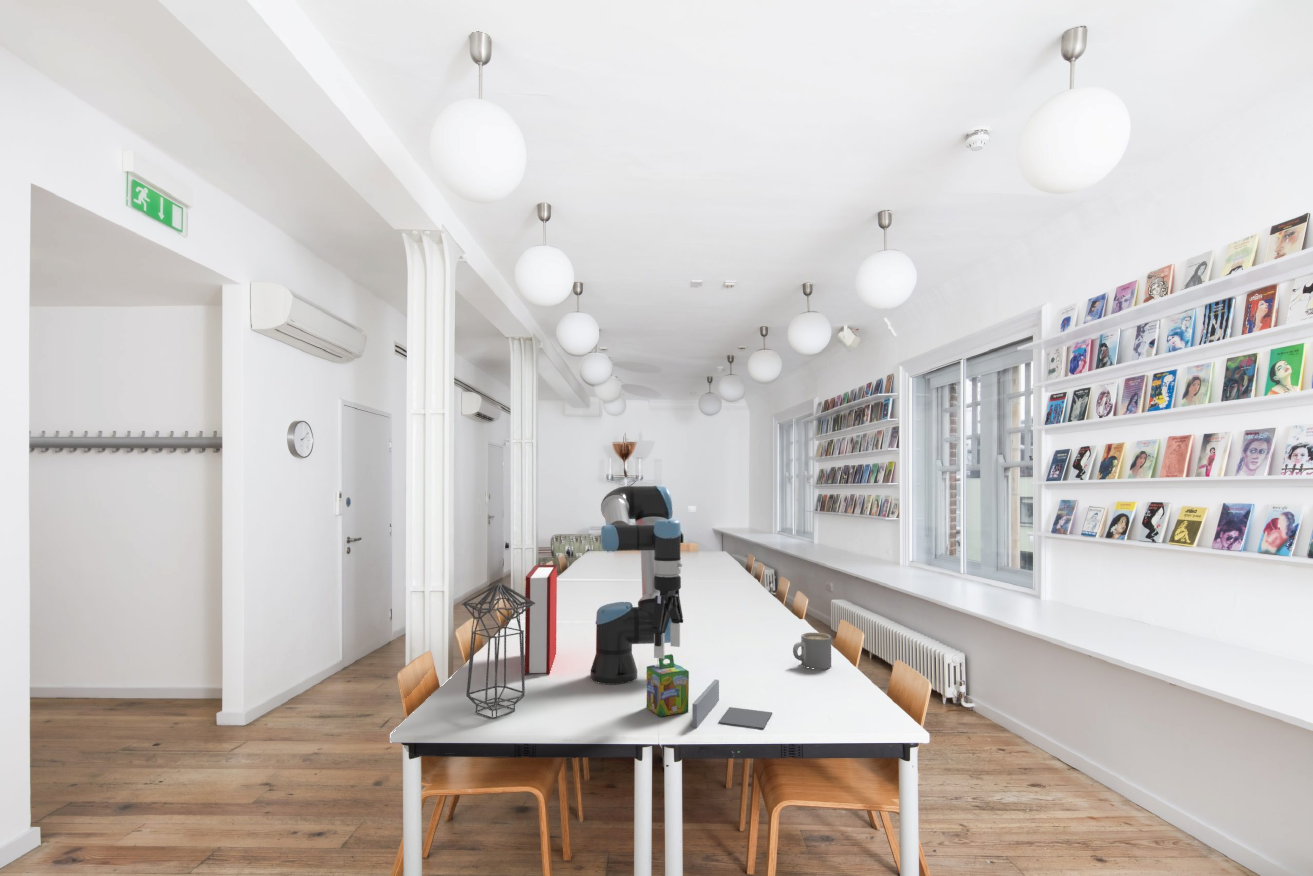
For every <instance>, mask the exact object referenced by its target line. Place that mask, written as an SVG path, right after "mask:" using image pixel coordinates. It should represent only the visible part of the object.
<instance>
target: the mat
mask: <svg viewBox="0 0 1313 876" xmlns="http://www.w3.org/2000/svg"><path fill="white" fill-rule="evenodd" d="M772 715H773V712H770V711H764V710H757V709H756V710H755V709H748V708H741V707H732V706H729V707H728V708H727V710H726V711H725V713H724V714H723V715H722V716H721V718H720V719H719V720H718V723H717V724H719V723H720V725H726V724H727V725H728V726H735V727H741V728H742V727H744V728H749V729H750V728H751V729H756V728H757V729H758V730H764V729H765V728H766V726H767V724H768V723H767V722H769V720H770V719H771V717H772Z"/></svg>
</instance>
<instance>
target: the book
mask: <svg viewBox="0 0 1313 876" xmlns="http://www.w3.org/2000/svg"><path fill="white" fill-rule="evenodd" d="M557 578H558V565H556V564H536V565H534V566H533V567H532V569H531V570H530V571H529V572H528V574H526V575H525V597H526V598H528V599H529V600H531V601H533V602H535V605H534V604H533V605H532V606H531V607H529V608H528V609H527V610H526V611H524V613H525V614H524V615H525V617H524V619H525V622H524V628H525V629H524V635H525V636H524V676H527V675H529V674H547V675H549V674H551V672H550V671H552V669H551V668H553V666H552V665H554V662H555V659H556V656H555V655H557V620H558V618H557V612H558V611H557V603H558V601H557V600H558V599H557V597H558V596H557V595H558V593H557V591H558V584H557V583H558V579H557ZM525 602H527V601H525ZM525 605H527V604H525ZM525 608H526V607H524V609H525ZM526 674H527V675H526Z"/></svg>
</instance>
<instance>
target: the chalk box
mask: <svg viewBox="0 0 1313 876" xmlns="http://www.w3.org/2000/svg"><path fill="white" fill-rule="evenodd" d="M665 660H669V663H667V662H666V663H664V661H665ZM689 679H690V671H689V670H688V669H687V668H684V667H683V666H681V665H679V664H676V663H675V661H674V655H673V654H671V653H670V654H664V659H662V658H658V664H652V665H648V666H646V708H647V709H648V708H649V709H648V710H650V711H651V710H652V712H653V713H654V714H656V715H658V717H661V718H662V717H666V716H667V715H668V716H671V715H673V714H674V715H679V713H680V714H685V712H687V713H689V699H690V698H689V689H690V688H689V687H690V686H689V685H690V681H689ZM668 716H667V717H668Z"/></svg>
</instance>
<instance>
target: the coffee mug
mask: <svg viewBox="0 0 1313 876" xmlns="http://www.w3.org/2000/svg"><path fill="white" fill-rule="evenodd" d="M800 639H801V641H798V642H795V643H794V644H793V648H792V653H793V654H792V655H793V657H794V658H795V659H796V660H798V661H800V662H801V666H802V665H803V666H805V667H804V668H806V667H809V668H814V669H813V670H815V669H824V670H828V669H827V668H829V669H831V668H832V636H831V635H830V634H828V633H824V632H804V633H802V634H801V638H800ZM800 647H801V654H798V650H799V648H800ZM803 666H802V667H803ZM830 667H831V668H830ZM809 668H808V669H809Z"/></svg>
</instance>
